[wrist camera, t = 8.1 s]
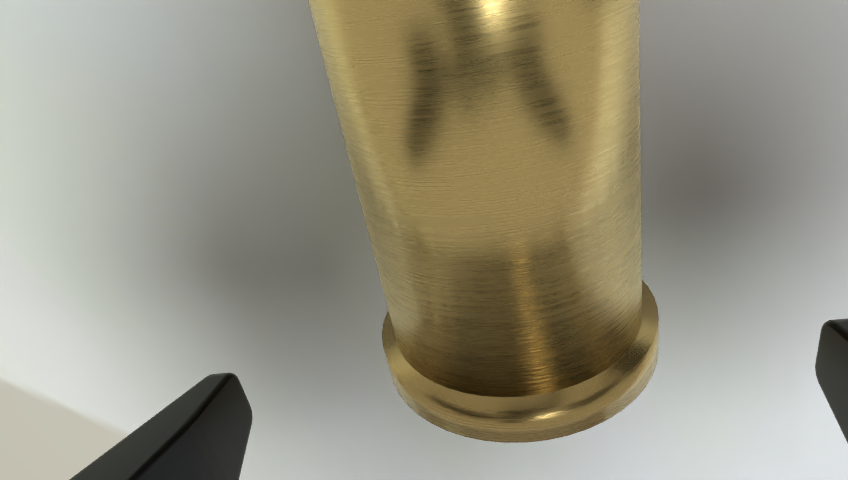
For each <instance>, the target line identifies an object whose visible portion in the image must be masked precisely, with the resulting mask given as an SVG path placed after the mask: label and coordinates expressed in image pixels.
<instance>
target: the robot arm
mask: <svg viewBox="0 0 848 480" xmlns="http://www.w3.org/2000/svg"><path fill="white" fill-rule="evenodd" d="M815 369H816V376H817V379H818V382H819V384H820V386H821V388H822V390H823V393H824V395H825V397H826V399H827V401H828V403H829V405H830V407H831V409H832V411H833V413H834V415H835V418H836V420H837V422H838V424H839V426H840V428H841V430H842V432H843V434H844V436H845V438H846V441H847V443H848V319H836V320H829V321H827V322H825V323H824V325H823V326H822V329H821V334H820V340H819V346H818V352H817V358H816V365H815ZM251 425H252V410H251V407H250V404H249V402H248V400H247V397H246V395H245V393H244V390H243V388H242V386H241V384H240V381H239V379H238V377H237V376H236V375H235V374H233V373H220V374H212V375H209V376H207V377H206V378H204V379H203V380H202V381H200V382H199V383H198V384H196V385H195V386H194V387H192V388H191V389H190V390H188V391H187V392H186V393H184V394H183V395H182V396H180V397H179V398H178V399H176V400H175V401H174V402H172V403H171V404H170V405H168V406H167V407H166V408H164V409H163V410H162V411H160V412H159V413H158V414H156V415H155V416H154V417H152V418H151V419H150V420H148V421H147V422H146V423H144V424H143V425H142V426H140V427H139V428H138V429H136V430H135V431H134V432H132V433H131V434H130V435H128V436H127V437H126V438H124V439H123V440H122V441H120V442H119V443H118V444H116V445H115V446H114V447H113V448H111V449H110V450H108V451H107V452H106V453H104V454H103V455H102V456H100V457H99V458H98V459H96V460H95V461H94V462H92V463H91V464H90V465H88V466H87V467H86V468H84V469H83V470H82V471H80V472H79V473H78V474H76V475H75V476H74V477H72V478H71V479H70V480H239V476H240V472H241V468H242V463H243V459H244V455H245V450H246V446H247V442H248V438H249V433H250V429H251Z"/></svg>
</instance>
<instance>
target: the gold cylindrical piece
mask: <svg viewBox="0 0 848 480" xmlns="http://www.w3.org/2000/svg"><path fill="white" fill-rule="evenodd" d="M308 3H309V6H310V10H311V14H312V18H313V22H314V26H315V29H316V33H317V37H318V41H319V45H320V49H321V53H322V56H323V60H324V64H325V68H326V72H327V76H328V79H329V83H330V87H331V91H332V95H333V99H334V102H335V106H336V110H337V114H338V118H339V122H340V125H341V129H342V133H343V137H344V141H345V145H346V148H347V152H348V156H349V160H350V164H351V168H352V172H353V175H354V179H355V183H356V187H357V191H358V195H359V198H360V202H361V206H362V210H363V214H364V218H365V221H366V225H367V229H368V233H369V237H370V241H371V244H372V248H373V252H374V256H375V260H376V264H377V267H378V271H379V275H380V279H381V283H382V287H383V291H384V294H385V298H386V302H387V306H388V310H389V311H388V312H387V315H386V318H385V321H384V324H383V331H382V339H383V347H384V350H385V354H386V357H387V361H388V365H389V368H390V372H391V375H392V379H393V382H394V385H395V387H396V389H397V391H398V393H399V395H400V396H401V397H402V398H403V400H404V401H405V402H406V403H407V405H408V406H409V407H410V408H412V409H413V410H414V411H415V412H416V413H417V414H418V415H420V416H421V417H423V418H424V419H426V420H427V421H429V422H430V423H432V424H434V425H436V426H438V427H440V428H442V429H445V430H447V431H450V432H453V433H456V434H459V435H462V436H465V437H469V438H474V439H479V440H484V441H494V442H533V441H542V440H549V439H554V438H559V437H563V436H568V435H571V434H574V433H577V432H580V431H583V430H586V429H589V428H591V427H593V426H595V425H597V424H599V423H602V422H604V421H606V420H607V419H609V418H611V417H612V416H614V415H615V414H617V413H619V412H620V411H622V410H623V409H624V408H625V407H626V406H628V405H629V404H630V403H631V402H632V401H634V400H635V399H636V397H637V396H638V395H639V394H640V393H641V392H642V390H643V389H644V388H645V387H646V385H647V383H648V382H649V380H650V378H651V377H652V375H653V372H654V369H655V366H656V363H657V357H658V308H657V305H656V302H655V299H654V296H653V294H652V293H651V291H650V289H649V288H648V286H647V285H646V284H645V283H644V282H643V280H642V253H641V157H640V61H639V0H308Z"/></svg>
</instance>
